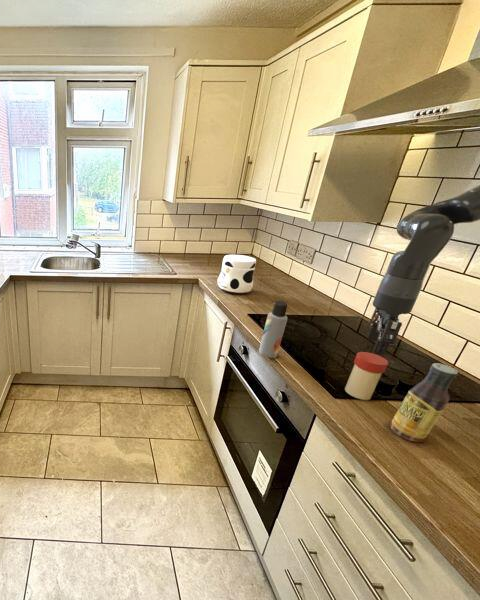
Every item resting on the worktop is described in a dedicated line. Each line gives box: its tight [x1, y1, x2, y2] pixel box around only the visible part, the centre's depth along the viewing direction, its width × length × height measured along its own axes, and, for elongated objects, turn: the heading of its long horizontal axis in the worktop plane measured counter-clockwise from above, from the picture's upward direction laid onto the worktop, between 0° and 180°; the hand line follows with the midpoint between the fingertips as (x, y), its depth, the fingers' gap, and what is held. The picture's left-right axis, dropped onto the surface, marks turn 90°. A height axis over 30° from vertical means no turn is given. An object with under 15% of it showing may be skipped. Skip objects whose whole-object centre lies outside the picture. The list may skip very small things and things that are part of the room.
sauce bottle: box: [389, 362, 459, 443], centre depth 74 cm, size 6×6×20 cm
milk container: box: [217, 254, 257, 295], centre depth 167 cm, size 17×17×18 cm
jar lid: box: [353, 351, 389, 374], centre depth 88 cm, size 7×7×3 cm
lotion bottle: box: [258, 300, 289, 359], centre depth 108 cm, size 6×6×20 cm
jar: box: [344, 363, 383, 401], centre depth 90 cm, size 6×6×11 cm
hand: (374, 346), depth 87 cm, fingers open, 8 cm apart
